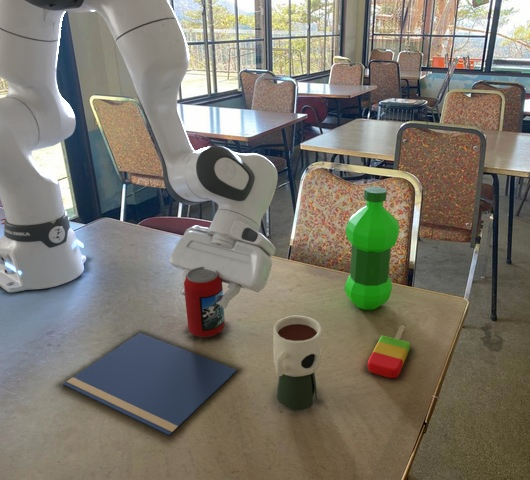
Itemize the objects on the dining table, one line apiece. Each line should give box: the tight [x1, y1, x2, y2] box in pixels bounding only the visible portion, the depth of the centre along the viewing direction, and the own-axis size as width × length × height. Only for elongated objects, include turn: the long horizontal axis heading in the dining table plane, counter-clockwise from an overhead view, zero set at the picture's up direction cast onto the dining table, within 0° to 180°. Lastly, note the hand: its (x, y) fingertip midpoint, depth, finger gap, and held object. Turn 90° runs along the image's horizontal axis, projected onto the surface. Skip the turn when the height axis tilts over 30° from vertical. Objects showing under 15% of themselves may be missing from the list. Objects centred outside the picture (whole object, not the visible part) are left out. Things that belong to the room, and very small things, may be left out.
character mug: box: [272, 314, 323, 411], centre depth 72 cm, size 11×7×13 cm, turn 153°
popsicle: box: [367, 324, 411, 379], centre depth 86 cm, size 6×15×2 cm, turn 157°
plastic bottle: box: [344, 186, 400, 311], centre depth 96 cm, size 10×10×25 cm
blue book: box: [62, 332, 238, 436], centre depth 78 cm, size 22×16×1 cm
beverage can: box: [183, 267, 226, 338], centre depth 88 cm, size 7×7×12 cm
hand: (202, 301), depth 88 cm, fingers closed on beverage can, 7 cm apart
